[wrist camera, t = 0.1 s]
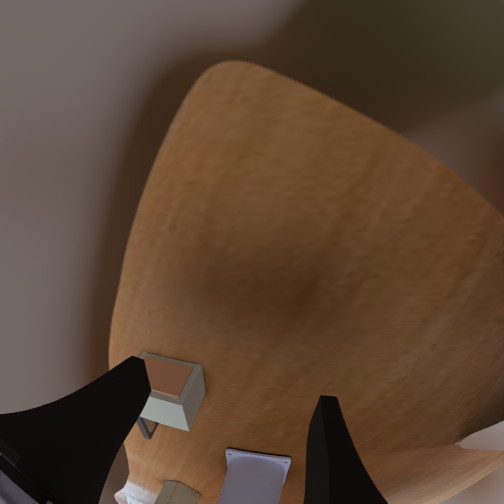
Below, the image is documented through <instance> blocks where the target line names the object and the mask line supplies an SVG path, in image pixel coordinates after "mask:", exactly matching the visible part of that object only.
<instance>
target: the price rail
mask: <svg viewBox="0 0 504 504" xmlns="http://www.w3.org/2000/svg"><path fill="white" fill-rule="evenodd" d="M136 422H137V424H138V426H139V428H140V430H141V432H142V434H143V436H144V438H147V439H151V437H152V435H153V433H154V432H155V430H156V428H157V426H158V424H159V423H158V422H155V421H152V420H149V419H146V418H143V417H140V416H139V418H138V419H137V421H136Z"/></svg>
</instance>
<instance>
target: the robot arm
mask: <svg viewBox="0 0 504 504" xmlns="http://www.w3.org/2000/svg"><path fill="white" fill-rule="evenodd" d="M151 391H152V390H151V386H150V382H149V378H148V374H147V370H146V365H145V361H144V359H141V358H138V357H135V356H131V357H129V358H128V359H126V360H125V361H123V362H122V363H120V364H119V365H117V366H116V367H114V368H113V369H111V370H110V371H108V372H107V373H105V374H104V375H102V376H101V377H99V378H97V379H96V380H94V381H93V382H91V383H90V384H88V385H86V386H84V387H83V388H81V389H79V390H77V391H76V392H74V393H72V394H70V395H68V396H65V397H63V398H61V399H59V400H57V401H54V402H51V403H49V404H45V405H42V406H40V407H36V408H33V409H29V410H25V411H20V412H15V413H8V414H0V454H1V455H0V504H98V503H99V500H100V496H101V493H102V490H103V487H104V484H105V481H106V479H107V476H108V473H109V471H110V468H111V466H112V464H113V461H114V459H115V457H116V455H117V452H118V451H119V449H120V447H121V445H122V443H123V442H124V440H125V439H126V437H127V435H128V434H129V432H130V431H131V429H132V427H133V426H134V424H135V422H136V421H137V419H138V418H139V416H140V414H141V413H142V411H143V409H144V407H145V405H146V403H147V400H148V398H149V396H150V393H151ZM226 459H227V467H228V470H227V474H226V477H225V480H224V483H223V486H222V490H221V493H220V496H219V499H218V502H217V504H279V501H280V496H281V490H282V484H284V481H285V478H286V475H287V472H288V469H289V466H290V463H291V458H290V457H283V456H274V455H266V454H259V453H252V452H246V451H240V450H235V449H226ZM303 504H388V503H387V501H386V500H385V499H384V497H383V496H382V495H381V493H380V492H379V490H378V489H377V487H376V486H375V484H374V483H373V481H372V479H371V478H370V476H369V474H368V473H367V471H366V469H365V467H364V465H363V463H362V461H361V459H360V457H359V455H358V453H357V451H356V449H355V446H354V444H353V442H352V439H351V437H350V434H349V432H348V429H347V426H346V424H345V421H344V418H343V415H342V412H341V409H340V405H339V401H338V398H337V397H334V396H323V395H320V398H319V401H318V403H317V406H316V409H315V411H314V414H313V416H312V419H311V422H310V424H309V432H308V439H307V449H306V480H305V496H304V503H303Z"/></svg>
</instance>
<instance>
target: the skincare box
mask: <svg viewBox="0 0 504 504" xmlns="http://www.w3.org/2000/svg"><path fill="white" fill-rule="evenodd" d="M199 496H200V494H199V493H197V492H196V491H194V490H193V489H191V488H189V487H188V486H186V485H185V484H183V483H182V482H179V481H168V480H166V481H165V483H164V485H163V487H162V489H161V492H160V494H159V496H158V498H157V500H156V502H155V504H197V501H198V499H199Z"/></svg>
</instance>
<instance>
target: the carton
mask: <svg viewBox="0 0 504 504" xmlns="http://www.w3.org/2000/svg"><path fill="white" fill-rule="evenodd" d="M139 358H141V359H144V361H145V365H146V370H147V374H148V378H149V382H150V386H151V390H152V391H151V393H150V396H149V398H148V400H147V403H146V405H145V407H144V409H143V411H142V413H141V414H140V417H143V418H146V419H149V420H152V421H155V422H158V423H161V424H164V425H168V426H171V427H175V428H178V429H182V430H185V431H190V429H191V426H192V424H193V422H194V419H195V417H196V415H197V412H198V410H199V408H200V405H201V403H202V401H203V398H204V396H205V394H206V392H205V385H204V378H203V371H202V365H199V364H194V363H189V362H184V361H180V360H175V359H171V358H167V357H162V356H158V355H154V354H150V353H146V352H143V353H142V354H141V355H140V357H139Z"/></svg>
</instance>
